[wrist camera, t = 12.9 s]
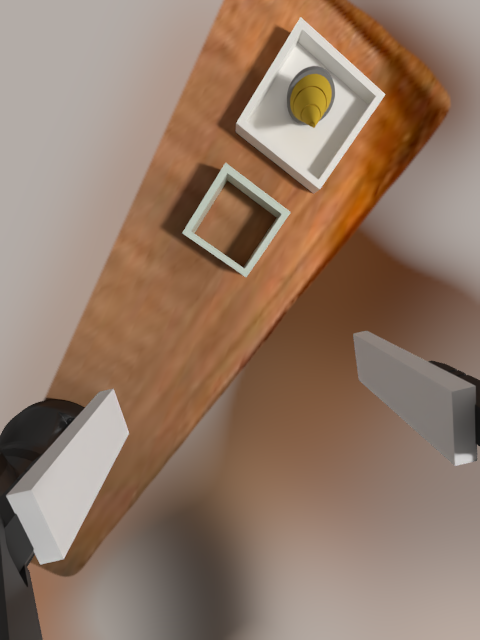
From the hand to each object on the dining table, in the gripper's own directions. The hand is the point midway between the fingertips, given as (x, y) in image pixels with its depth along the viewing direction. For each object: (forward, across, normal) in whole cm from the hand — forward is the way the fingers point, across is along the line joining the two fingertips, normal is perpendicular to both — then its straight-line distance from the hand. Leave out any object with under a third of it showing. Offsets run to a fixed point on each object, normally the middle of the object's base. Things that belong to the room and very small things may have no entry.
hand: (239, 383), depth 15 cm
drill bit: (+25, -15, -21) cm, 36 cm away
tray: (+25, -15, -21) cm, 36 cm away
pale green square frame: (+26, -3, -10) cm, 28 cm away
